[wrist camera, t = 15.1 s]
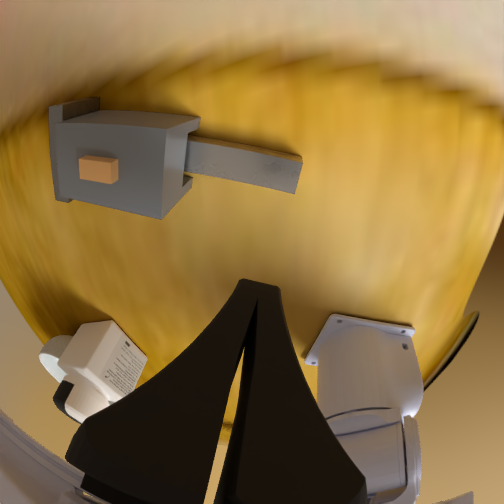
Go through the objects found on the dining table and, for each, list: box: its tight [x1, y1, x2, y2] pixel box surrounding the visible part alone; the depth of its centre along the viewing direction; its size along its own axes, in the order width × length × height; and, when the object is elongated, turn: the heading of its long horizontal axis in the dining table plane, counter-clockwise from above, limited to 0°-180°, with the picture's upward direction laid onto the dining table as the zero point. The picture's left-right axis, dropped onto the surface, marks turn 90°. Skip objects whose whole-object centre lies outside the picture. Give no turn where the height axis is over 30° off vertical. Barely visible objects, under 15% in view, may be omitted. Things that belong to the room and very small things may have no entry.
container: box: [53, 320, 147, 424], centre depth 26 cm, size 8×8×13 cm
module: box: [55, 110, 201, 220], centre depth 15 cm, size 8×5×6 cm, turn 80°
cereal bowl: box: [39, 335, 135, 406], centre depth 33 cm, size 17×17×7 cm
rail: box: [49, 97, 303, 203], centre depth 15 cm, size 16×7×4 cm, turn 81°
